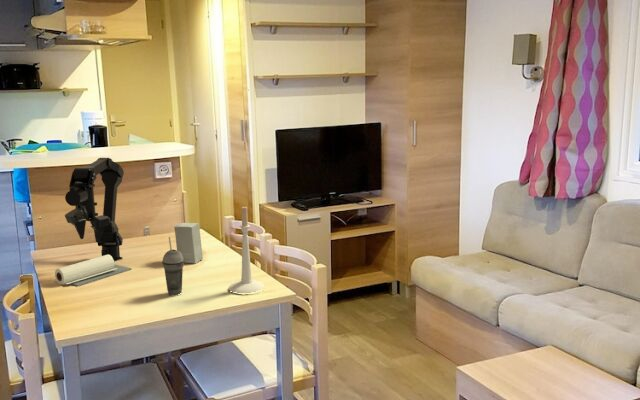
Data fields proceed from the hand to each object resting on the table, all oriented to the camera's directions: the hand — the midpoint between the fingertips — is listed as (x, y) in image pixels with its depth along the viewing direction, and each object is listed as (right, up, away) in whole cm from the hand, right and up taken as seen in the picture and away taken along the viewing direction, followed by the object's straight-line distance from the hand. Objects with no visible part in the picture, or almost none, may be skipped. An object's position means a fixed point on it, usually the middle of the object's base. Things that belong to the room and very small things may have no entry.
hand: (89, 240), depth 228 cm
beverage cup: (+38, -17, -22) cm, 47 cm away
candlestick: (+62, -16, -18) cm, 67 cm away
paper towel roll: (+7, -9, +4) cm, 12 cm away
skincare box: (+35, -10, +16) cm, 40 cm away
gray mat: (+3, -13, -1) cm, 14 cm away
